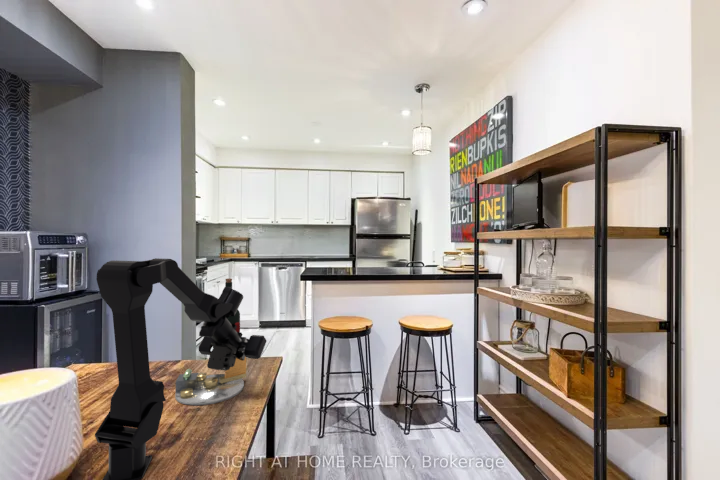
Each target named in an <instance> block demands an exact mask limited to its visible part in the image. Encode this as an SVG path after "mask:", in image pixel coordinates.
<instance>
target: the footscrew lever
mask: <svg viewBox="0 0 720 480" xmlns="http://www.w3.org/2000/svg"><path fill="white" fill-rule="evenodd" d="M224 374H225V376H222V377H219V382H220V383H221V384H222V383H226V382H230V381H233V380H237V379H241V378H242V379H245V378H247V357H246V356H245V359H244V361H241V360H239V359H237V358H236V361H235V365H234V366H233V367H230V369H229V370H226V371H224ZM217 384H218V378H216V377H210V378H207V379H205V380H204V387H206V388H210V387H214V386H216V385H217Z"/></svg>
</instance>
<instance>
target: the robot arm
mask: <svg viewBox="0 0 720 480" xmlns="http://www.w3.org/2000/svg"><path fill="white" fill-rule="evenodd" d="M96 283H97V287H98V290H99V294H100V297H101V298H102V300H103V301H104V302H105V304H107V306H108V307H109V308H110V310H111V312H112V313H111V314H112V322H113V333H114V343H115V354H116V355H115V358H116V367H117V377H118V385H117V387H116V388H115V391H114V392H113V394H112V396H111V397H110V408H109V409H110V410H109V411H108V413H107V415H106V416H105V418H104V419H103V420H102V423H100V425H99V427H98V429H97V430H96V431H95V433H94V438H95V440H96V441H97V443H98V444H101V443H102V444H108V470H107V471H106V473H105V474H104V475H103V478H102V479H101V480H142V479H143V477H144V476H145V473H146V471H147V470H148V467H149V465H150V463H151V461H152V457H153V455H151V454H150V455H147V450H146V449H147V448H146V447H147V442H148V441H150V440H151V439H153V438H154V437H155V436H157V434H158V431H159V427H160V423H161V419H162V414H163V411H164V402H166V400H167V399H166V397H165V392H164V391H165V385H164V381H162V380H154V379H152V377H151V371H150V362H149V361H150V360H149V359H150V358H149V346H148V334H147V321H146V320H147V319H146V310H145V306H146V304H147V302H148V301H149V298H150V297H151V295H152V294H153V290H154V289H153V285H155V284H156V285H157V284H159V283H160V285H161V286H163V287H164V288H165V290H167V291H168V292H169V293H171V294H172V295H173V296H174V297H175V298H176V299H177V300H178V301H179V302H181V304H183V306H184V313H185V314H186V315H187V317H188V318H189V319H190V321H192V322H202V323H203V324H202V325H200V326H201V327H200V330H199V331H198V332H199V334H198V336H199V337H201V338H202V337H203V338H202V340H201V342H200V343H199V346H198V352H199V353H200V354H201V355H204V356H209V357H208V359H207V360H208V361H207V365H206V367H207V368H208V369H211V370H216V371H224V372H225V371H226V370H229V369H230V367H233V366H234V365H235V361H236V358H237V359H239V360H241V361H244V359H245V356H246V359H247V358H248V359H254V360H256V359H257V360H259V359H260V358H261V356H262V354H263V352H264V348H265V346H266V343H267V339H266V338H265V336H264V335H258V334H252V335H250V337H249V338H247V337H246V336H243V335H244V334H243V333H242V332H241V331H240V332H236V328H237V326H236V325H235V324H231V323H230V322H229V321H228V319H227V318H229V317H230V316H235V314H236V312H237V310H239V308H240V305H241V304H242V301H243V300H244V295H243V293H240V292H239V291H238V290H235V289H233V287H232V288H231V287H225V286H224V288H223V290H222V292H221V294H220V295H219V298H218V297H216V296H214V295H212V294H209V293H206V292H204V291H203V290H202V289H201V288H200V287H199V286H198V285H197V284H196V283H195V282H194V281H193V280H192V279H191V278H190V277H189V276H188V275H187V274H186V273H185V272H184V271H183V270H182V269H181V268H180V267H179V265H178V262H177V261H176V260H174V259H171V258H159V257H158V258H155V257H154V258H152V259H149V260H140V261H139V260H138V261H137V260H109V261H107V262H105V263H103V264H102V266H101V267H100V268H99V269H98V270H97V273H96Z"/></svg>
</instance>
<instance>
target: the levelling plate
mask: <svg viewBox="0 0 720 480" xmlns="http://www.w3.org/2000/svg"><path fill="white" fill-rule="evenodd" d="M222 376H225V373H215V374H208V375H207V372H193V370H192V369H191V368H188V369H186V370H185V372H184V373H181V374H178V377H177V379H176V380H175V391H174V392H175V394H174V395H175V396H174V397H175V398H174V399H175V400H176V402H178V403H180V404H181V405H184V406H185V405H186V406H194V407H195V406H196V407H198V406H199V407H200V406H207V405H208V406H209V405H214V404H218V403H221V402H225V401H227V400H228V401H229V400H231V399H232V398H234V397H236V396H237V395H239V394H240V393H242V391H243V389H244V387H245V381H244V378H241V379H237V380H233V381H230V382H226V383H222V384H221V383H220V382H219V377H222ZM210 377H216V378H218V384H217V385H216V386H214V387H210V388H206V387H204V380H205V379H207V378H210Z"/></svg>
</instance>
